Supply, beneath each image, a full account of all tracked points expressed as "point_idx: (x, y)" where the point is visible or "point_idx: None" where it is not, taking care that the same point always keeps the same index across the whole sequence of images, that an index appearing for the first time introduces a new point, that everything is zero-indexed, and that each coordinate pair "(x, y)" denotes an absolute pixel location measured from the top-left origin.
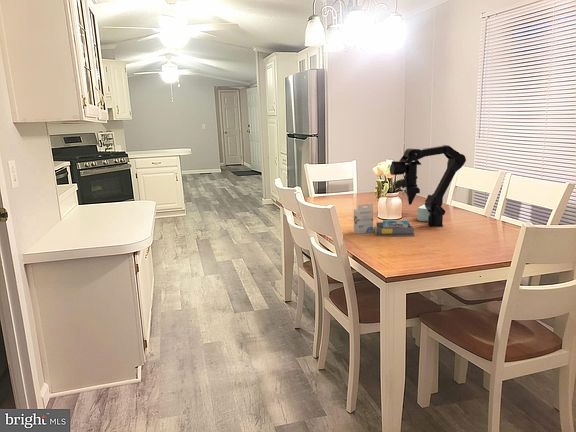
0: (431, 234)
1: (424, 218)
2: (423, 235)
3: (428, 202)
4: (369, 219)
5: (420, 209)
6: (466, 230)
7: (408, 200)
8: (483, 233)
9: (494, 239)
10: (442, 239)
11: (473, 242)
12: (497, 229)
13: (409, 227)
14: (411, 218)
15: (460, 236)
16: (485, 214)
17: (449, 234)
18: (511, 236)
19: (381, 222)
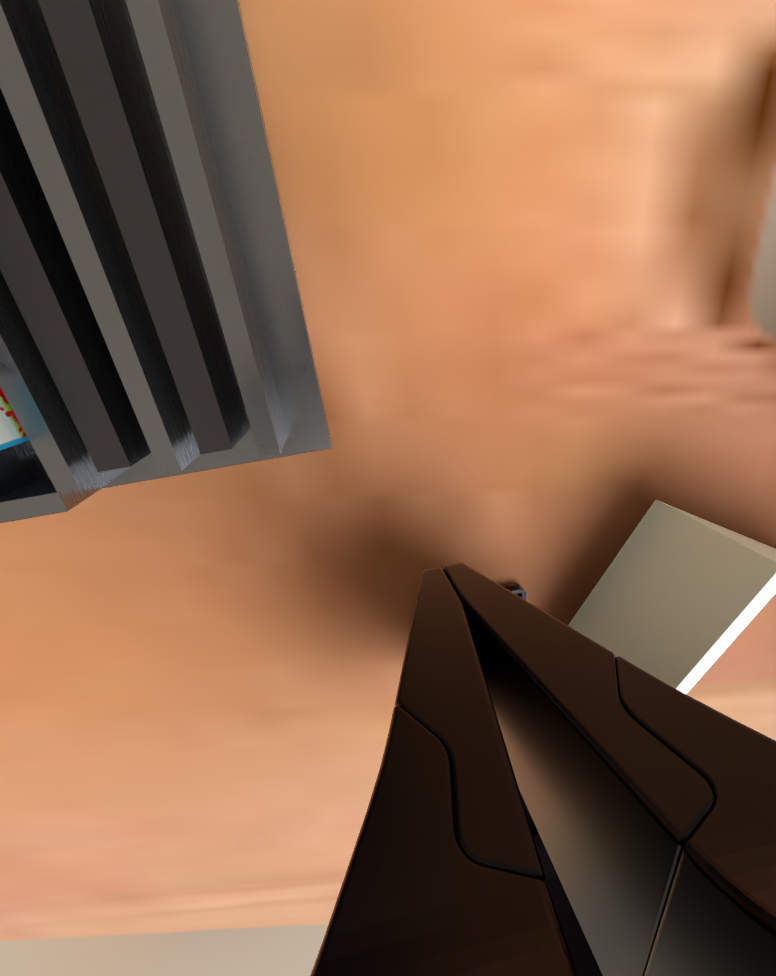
0: (150, 622)
1: (635, 567)
2: (82, 568)
3: (537, 843)
4: None
5: (740, 584)
6: (347, 785)
7: (407, 642)
8: (292, 846)
9: (168, 887)
10: (15, 695)
11: (37, 831)
12: None
13: (55, 465)
14: (732, 447)
15: (169, 772)
16: None
17: (202, 721)
18: (263, 922)
19: None
